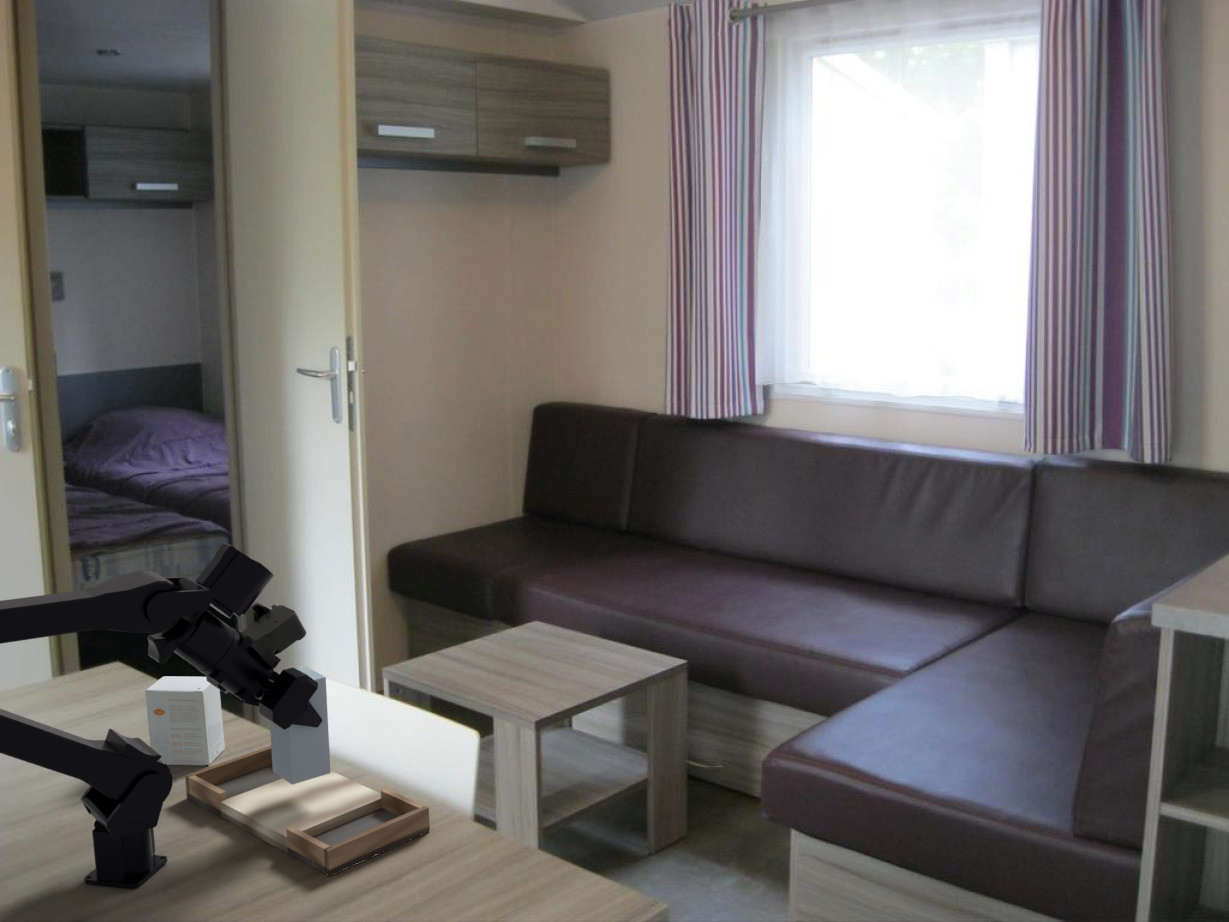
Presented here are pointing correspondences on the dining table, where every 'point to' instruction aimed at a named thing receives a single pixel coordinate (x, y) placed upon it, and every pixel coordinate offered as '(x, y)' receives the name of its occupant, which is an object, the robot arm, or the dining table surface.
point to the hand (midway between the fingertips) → (309, 717)
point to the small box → (185, 720)
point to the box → (307, 811)
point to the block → (303, 741)
